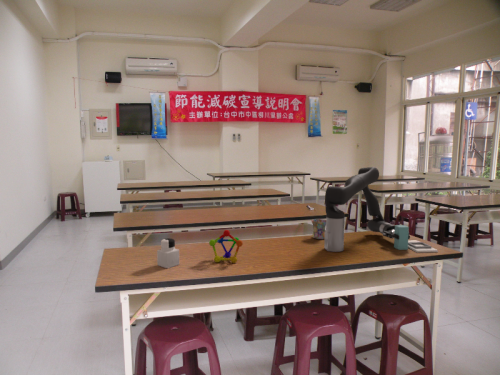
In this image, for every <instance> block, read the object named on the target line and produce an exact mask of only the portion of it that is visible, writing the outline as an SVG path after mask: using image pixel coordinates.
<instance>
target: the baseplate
mask: <svg viewBox="0 0 500 375" xmlns="http://www.w3.org/2000/svg"><path fill="white" fill-rule="evenodd" d="M408 249H409V250H412V251H414V252H415V253H438V252H439V250H438V249H437V248H434V247H432V245H430V244H428V243H425V242H424V241H423V242H422V241H419V240H413V239H411V240H410V239H408Z"/></svg>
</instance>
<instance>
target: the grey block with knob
mask: <svg viewBox="0 0 500 375" xmlns="http://www.w3.org/2000/svg"><path fill="white" fill-rule="evenodd" d="M175 242H176V240H175V239H174V238H170V237H169V238H163V239H161V241H160V249H157V250H156V255H157V258H156V259H157V260H156V261H157V266H158V267H160V268H165V269H169V268H173V267H177V266H178V265H180V249H179V248H176V243H175Z"/></svg>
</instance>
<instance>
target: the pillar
mask: <svg viewBox="0 0 500 375" xmlns="http://www.w3.org/2000/svg"><path fill="white" fill-rule="evenodd" d="M394 226H395V234H397V235H399V240H398V239H396V238H393V239H394V240H393V242H394V243H393V248H395V249H396V250H399V251H400V250H401V251H403V250H405V251H407V250H409V248H408V240H409V239H408V234H409V233H410V232H409V231H410V230H409V228H410V226H407V225H405V224H396V225H395V224H394ZM409 235H410V234H409Z"/></svg>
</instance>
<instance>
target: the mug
mask: <svg viewBox="0 0 500 375" xmlns="http://www.w3.org/2000/svg"><path fill="white" fill-rule="evenodd" d="M311 223H312V228H313V231H312V235H311V238H313V239H316V240H325V231H326V219H325V218H324V219H323V218H314V219H311Z"/></svg>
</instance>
